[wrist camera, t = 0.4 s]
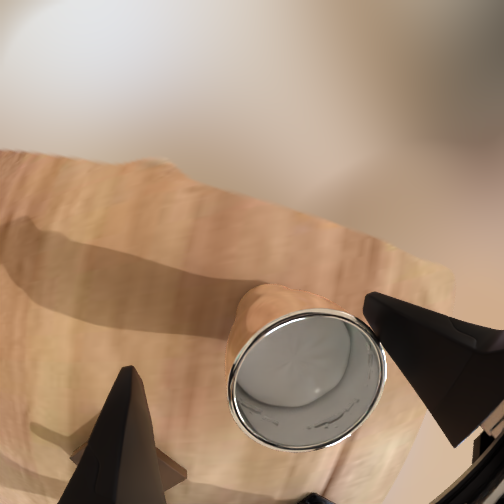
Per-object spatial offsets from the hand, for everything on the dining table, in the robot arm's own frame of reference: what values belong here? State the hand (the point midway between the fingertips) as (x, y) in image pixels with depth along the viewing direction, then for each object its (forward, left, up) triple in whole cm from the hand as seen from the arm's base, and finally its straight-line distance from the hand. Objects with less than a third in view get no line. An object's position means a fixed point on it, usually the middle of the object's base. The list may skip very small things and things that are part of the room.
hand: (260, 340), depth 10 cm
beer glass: (-4, -2, -15) cm, 16 cm away
